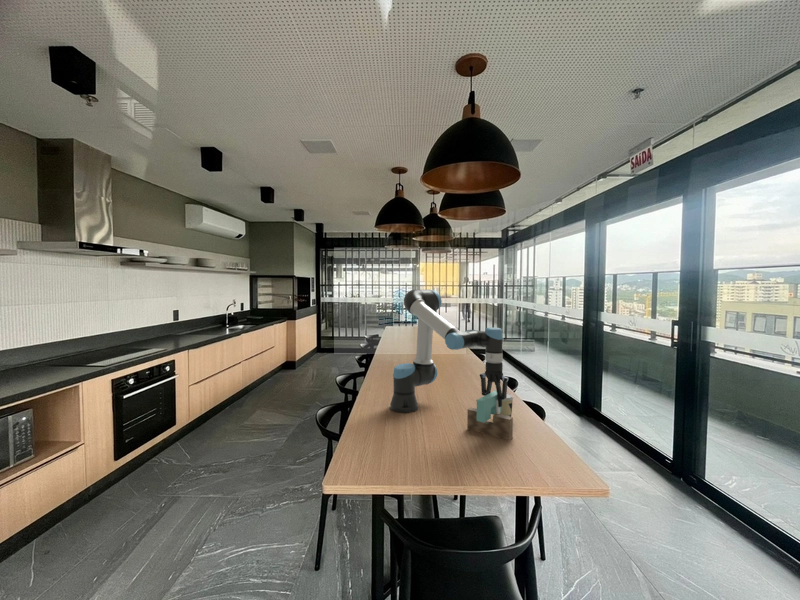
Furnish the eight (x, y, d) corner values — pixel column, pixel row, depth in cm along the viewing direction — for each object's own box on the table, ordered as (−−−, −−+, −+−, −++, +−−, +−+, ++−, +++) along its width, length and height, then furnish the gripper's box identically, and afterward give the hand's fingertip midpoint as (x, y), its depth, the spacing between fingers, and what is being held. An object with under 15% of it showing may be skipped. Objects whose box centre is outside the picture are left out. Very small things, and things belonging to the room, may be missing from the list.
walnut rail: (467, 428, 158) (467, 409, 157) (471, 426, 160) (471, 407, 160) (509, 440, 145) (509, 419, 145) (512, 437, 148) (512, 417, 147)
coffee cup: (514, 423, 164) (514, 398, 163) (493, 421, 166) (494, 397, 165) (511, 416, 173) (511, 393, 173) (492, 415, 175) (492, 391, 174)
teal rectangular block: (476, 420, 147) (476, 400, 146) (494, 409, 160) (494, 390, 160) (484, 422, 144) (484, 401, 144) (501, 411, 158) (501, 392, 158)
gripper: (473, 360, 158) (473, 410, 158) (508, 365, 147) (508, 419, 148) (481, 358, 163) (480, 406, 164) (515, 362, 153) (514, 414, 153)
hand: (493, 412), depth 156 cm, fingers closed on teal rectangular block, 3 cm apart
